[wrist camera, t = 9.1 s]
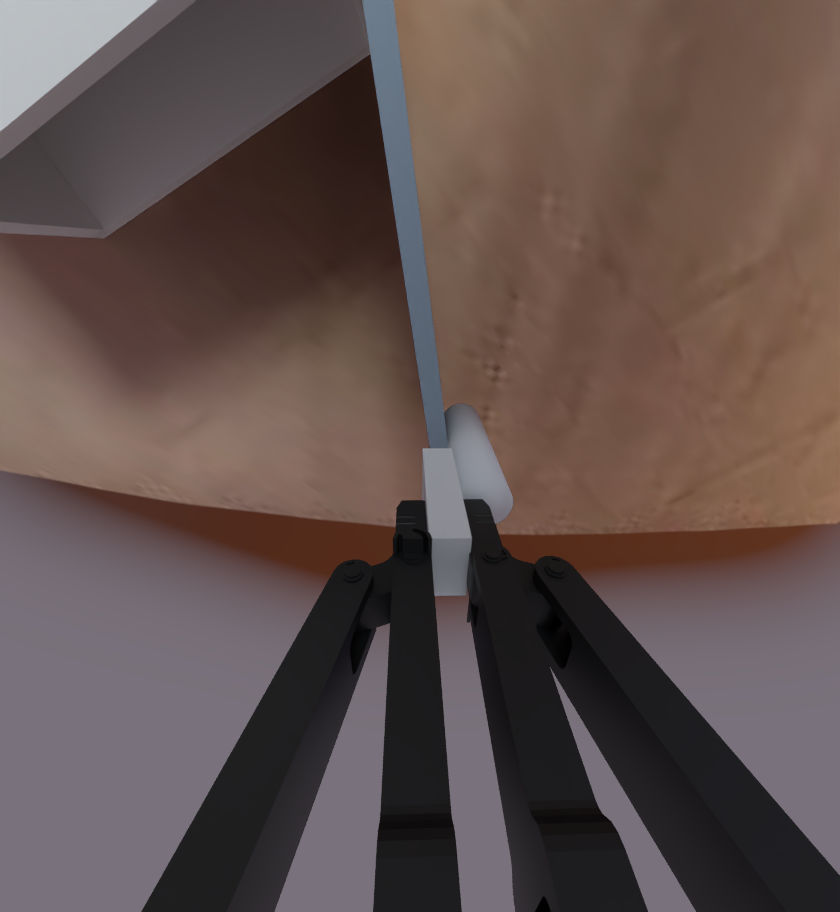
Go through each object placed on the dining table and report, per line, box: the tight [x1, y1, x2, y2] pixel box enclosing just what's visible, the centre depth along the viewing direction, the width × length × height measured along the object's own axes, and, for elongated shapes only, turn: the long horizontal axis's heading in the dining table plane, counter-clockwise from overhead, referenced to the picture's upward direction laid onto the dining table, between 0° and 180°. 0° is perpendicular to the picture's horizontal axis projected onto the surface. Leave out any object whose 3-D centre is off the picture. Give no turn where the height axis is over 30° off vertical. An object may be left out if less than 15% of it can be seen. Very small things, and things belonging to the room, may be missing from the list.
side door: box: [362, 0, 513, 524], centre depth 19 cm, size 22×3×16 cm, turn 8°
